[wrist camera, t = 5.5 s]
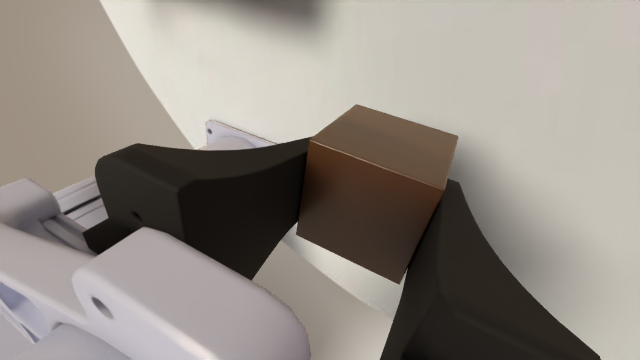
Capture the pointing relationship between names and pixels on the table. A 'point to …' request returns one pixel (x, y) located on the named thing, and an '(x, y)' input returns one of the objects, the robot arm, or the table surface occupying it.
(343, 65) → the table surface
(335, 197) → the block
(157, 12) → the table surface
